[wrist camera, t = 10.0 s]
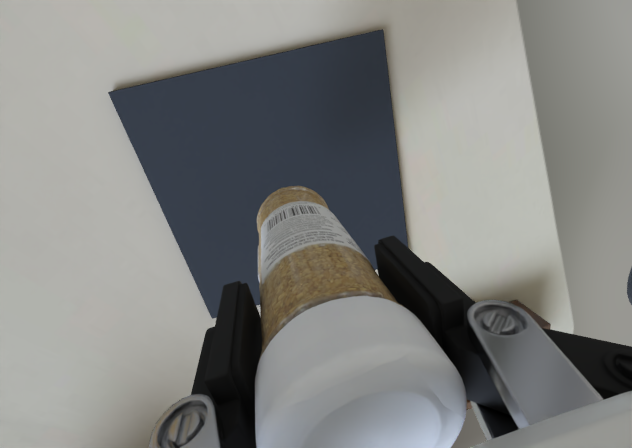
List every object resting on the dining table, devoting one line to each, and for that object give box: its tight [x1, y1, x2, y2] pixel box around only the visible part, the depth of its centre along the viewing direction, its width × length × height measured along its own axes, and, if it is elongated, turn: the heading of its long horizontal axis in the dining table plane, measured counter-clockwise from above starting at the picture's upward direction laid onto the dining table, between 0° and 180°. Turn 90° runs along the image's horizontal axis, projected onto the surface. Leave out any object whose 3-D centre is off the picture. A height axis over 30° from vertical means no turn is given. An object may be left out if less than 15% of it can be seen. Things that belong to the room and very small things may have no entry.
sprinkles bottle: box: [255, 186, 467, 448], centre depth 12 cm, size 5×5×13 cm
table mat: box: [108, 29, 408, 318], centre depth 25 cm, size 20×20×1 cm
